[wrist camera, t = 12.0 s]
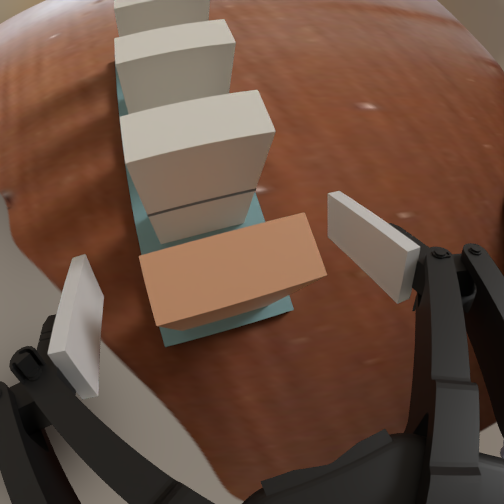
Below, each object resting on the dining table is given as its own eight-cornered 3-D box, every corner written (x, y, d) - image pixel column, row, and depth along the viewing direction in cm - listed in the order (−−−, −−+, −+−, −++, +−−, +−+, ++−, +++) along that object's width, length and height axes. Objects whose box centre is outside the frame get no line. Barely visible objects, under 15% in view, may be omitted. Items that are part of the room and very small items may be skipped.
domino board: (290, 310, 22) (293, 309, 22) (166, 346, 21) (165, 347, 20) (200, 42, 28) (200, 37, 27) (116, 59, 26) (114, 54, 26)
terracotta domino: (268, 305, 22) (327, 275, 11) (182, 330, 20) (156, 326, 10) (257, 271, 22) (304, 212, 12) (172, 296, 21) (138, 255, 10)
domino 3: (244, 223, 23) (276, 131, 12) (160, 244, 22) (124, 164, 11) (234, 192, 23) (257, 89, 13) (153, 212, 22) (119, 116, 12)
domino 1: (204, 98, 25) (210, -8, 15) (136, 113, 24) (113, 9, 14) (199, 79, 26) (203, -22, 15) (133, 93, 25) (113, -7, 14)
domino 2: (222, 153, 24) (236, 42, 14) (145, 170, 23) (115, 64, 12) (214, 128, 25) (224, 18, 14) (140, 145, 23) (114, 38, 13)
